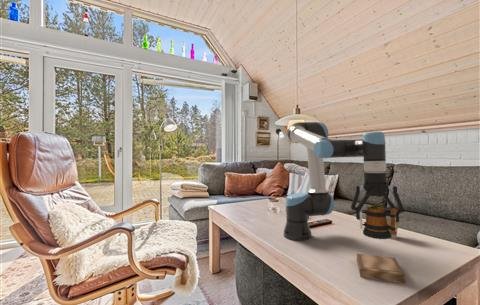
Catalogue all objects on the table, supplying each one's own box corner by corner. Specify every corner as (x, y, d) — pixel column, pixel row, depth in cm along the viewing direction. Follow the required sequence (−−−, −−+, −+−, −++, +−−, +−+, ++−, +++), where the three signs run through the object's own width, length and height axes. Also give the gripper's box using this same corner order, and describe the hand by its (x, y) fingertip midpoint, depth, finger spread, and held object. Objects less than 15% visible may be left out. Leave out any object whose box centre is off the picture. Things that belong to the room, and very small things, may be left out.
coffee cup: (404, 240, 119) (402, 211, 119) (383, 239, 121) (382, 210, 121) (395, 234, 128) (394, 207, 128) (376, 233, 130) (375, 206, 130)
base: (360, 276, 85) (360, 268, 85) (356, 260, 98) (356, 253, 98) (405, 283, 80) (405, 274, 80) (395, 265, 93) (395, 257, 93)
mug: (356, 233, 92) (355, 204, 92) (372, 229, 97) (370, 201, 97) (390, 244, 81) (389, 210, 81) (406, 238, 85) (404, 206, 86)
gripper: (343, 172, 91) (345, 229, 90) (413, 172, 82) (416, 235, 82) (342, 171, 98) (344, 224, 97) (407, 171, 89) (410, 228, 89)
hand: (377, 229), depth 89 cm, fingers closed on mug, 10 cm apart
